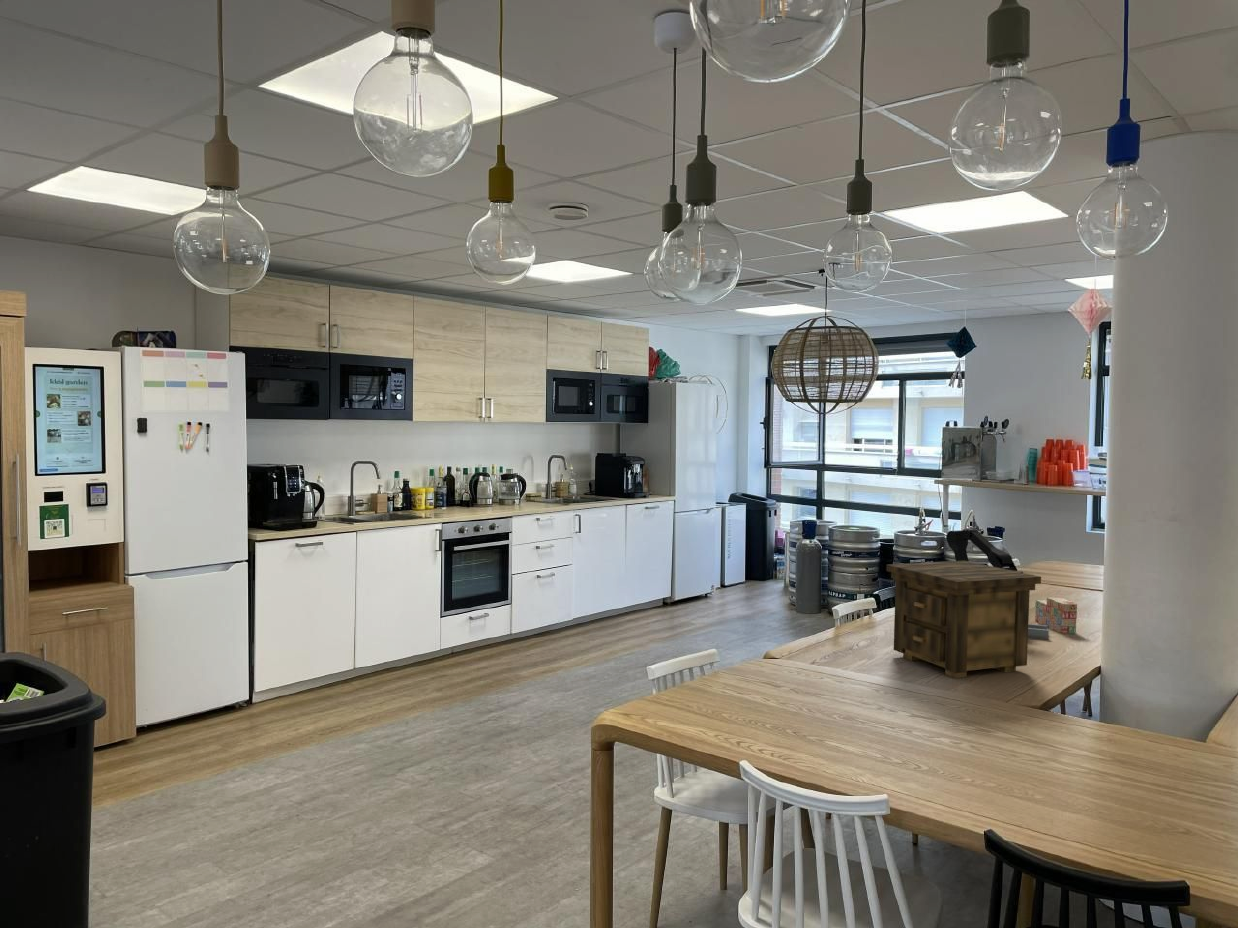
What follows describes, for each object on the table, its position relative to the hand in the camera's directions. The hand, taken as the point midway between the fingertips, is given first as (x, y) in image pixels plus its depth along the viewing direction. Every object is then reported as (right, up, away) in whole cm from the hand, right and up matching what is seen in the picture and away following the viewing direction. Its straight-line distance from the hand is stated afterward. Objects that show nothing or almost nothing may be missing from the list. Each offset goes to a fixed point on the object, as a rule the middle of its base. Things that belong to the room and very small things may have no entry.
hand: (999, 623), depth 343 cm
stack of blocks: (+28, -4, +10) cm, 30 cm away
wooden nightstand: (-36, -5, -48) cm, 60 cm away
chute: (+7, -4, -3) cm, 8 cm away
